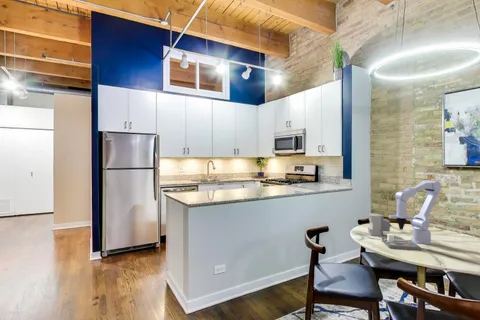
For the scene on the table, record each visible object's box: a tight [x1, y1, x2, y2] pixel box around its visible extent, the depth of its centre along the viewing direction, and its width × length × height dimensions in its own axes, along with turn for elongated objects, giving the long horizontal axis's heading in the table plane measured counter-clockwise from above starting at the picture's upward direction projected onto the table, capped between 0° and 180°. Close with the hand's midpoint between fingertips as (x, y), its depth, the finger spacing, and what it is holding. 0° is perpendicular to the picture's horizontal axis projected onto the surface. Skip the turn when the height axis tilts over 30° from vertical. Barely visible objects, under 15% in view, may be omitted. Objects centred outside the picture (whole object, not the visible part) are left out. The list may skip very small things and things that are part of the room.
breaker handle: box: [386, 233, 395, 242], centre depth 171 cm, size 3×3×5 cm
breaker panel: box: [381, 237, 422, 251], centre depth 170 cm, size 18×14×3 cm
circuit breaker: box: [367, 213, 392, 237], centre depth 193 cm, size 8×14×15 cm, turn 78°
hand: (401, 229), depth 175 cm, fingers closed
